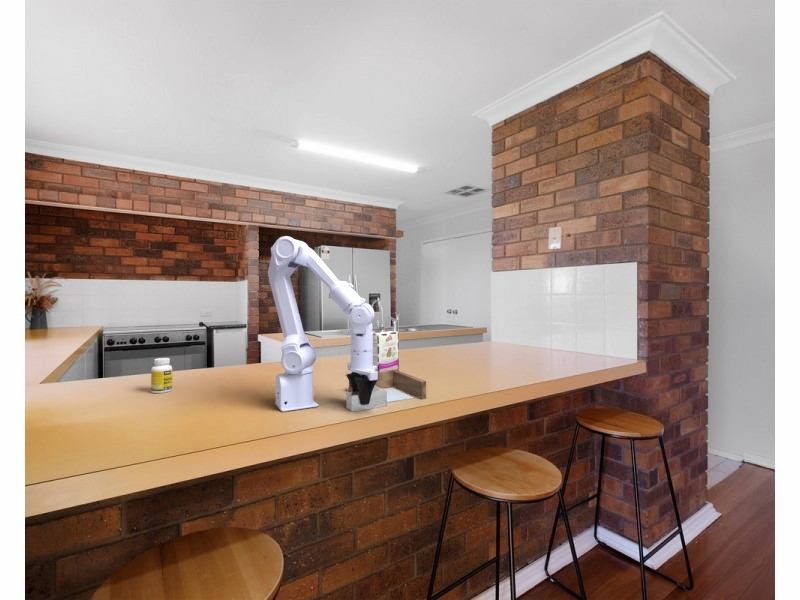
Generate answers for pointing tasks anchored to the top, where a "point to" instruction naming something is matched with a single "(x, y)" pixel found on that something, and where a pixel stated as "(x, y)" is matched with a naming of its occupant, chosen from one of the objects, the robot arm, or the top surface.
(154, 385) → the supplement bottle
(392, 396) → the pad
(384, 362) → the candy bar box
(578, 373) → the top surface
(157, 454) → the top surface
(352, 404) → the grey speckled block
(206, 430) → the top surface
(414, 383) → the corner fence
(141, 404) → the top surface
